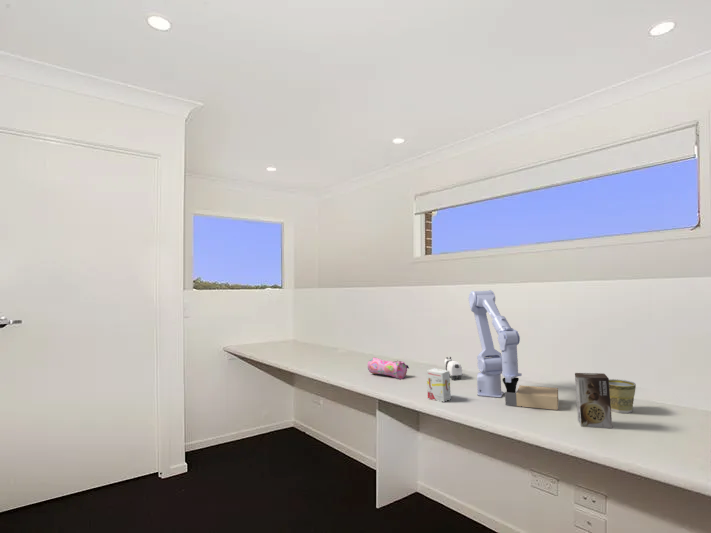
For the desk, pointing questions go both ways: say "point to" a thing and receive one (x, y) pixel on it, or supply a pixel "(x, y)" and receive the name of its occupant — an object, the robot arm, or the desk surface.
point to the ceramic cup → (621, 395)
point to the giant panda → (453, 368)
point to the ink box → (438, 384)
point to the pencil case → (388, 367)
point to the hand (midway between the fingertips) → (511, 397)
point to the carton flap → (531, 400)
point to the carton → (538, 391)
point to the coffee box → (593, 400)
